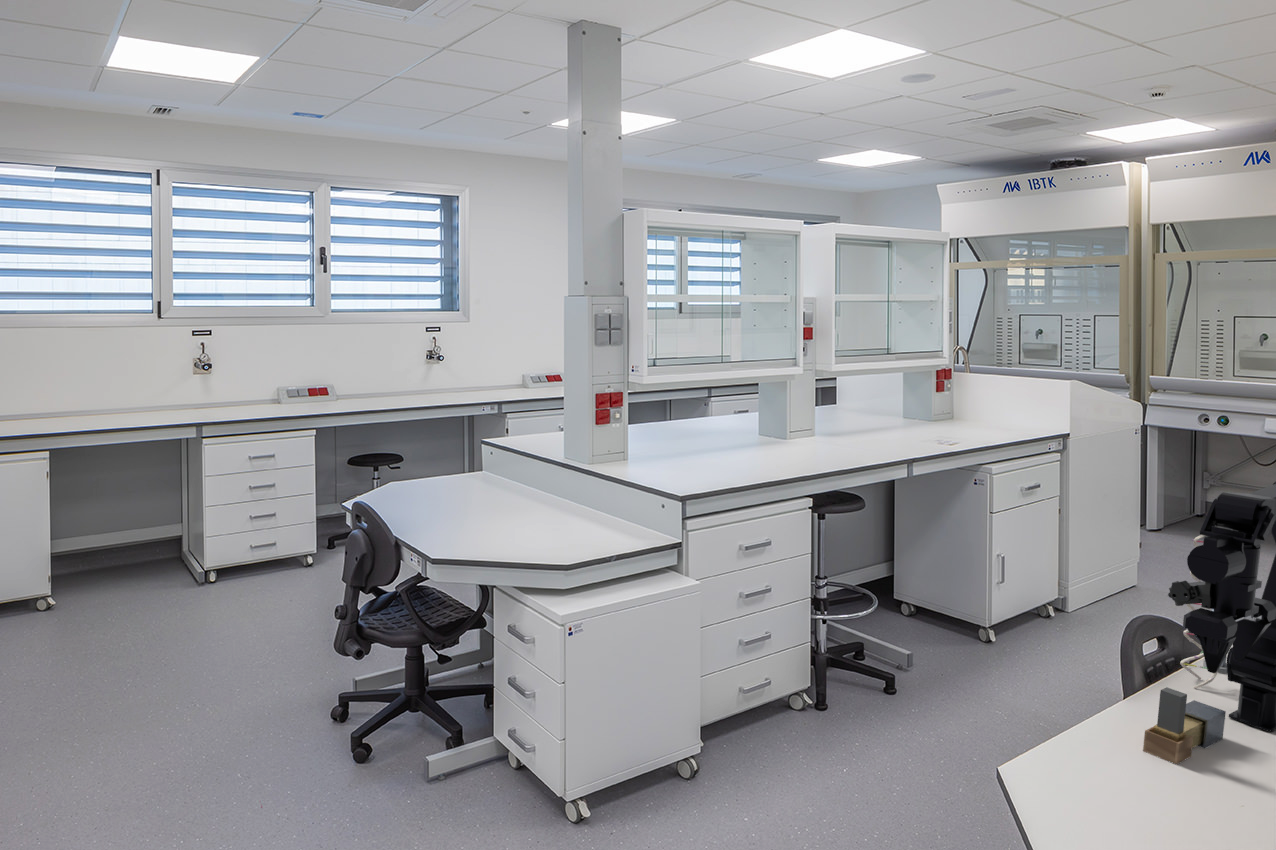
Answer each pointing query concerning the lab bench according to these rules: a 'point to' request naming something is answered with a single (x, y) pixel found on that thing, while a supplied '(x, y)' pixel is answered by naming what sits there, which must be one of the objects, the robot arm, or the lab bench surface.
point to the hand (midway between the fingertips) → (1225, 666)
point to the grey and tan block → (1177, 718)
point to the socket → (1167, 747)
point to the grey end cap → (1208, 721)
